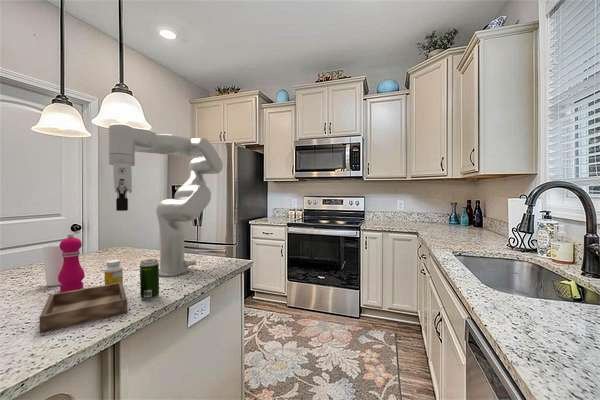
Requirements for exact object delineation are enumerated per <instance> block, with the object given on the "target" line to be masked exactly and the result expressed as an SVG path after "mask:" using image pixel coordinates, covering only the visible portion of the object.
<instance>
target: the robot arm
mask: <svg viewBox="0 0 600 400" xmlns="http://www.w3.org/2000/svg"><path fill="white" fill-rule="evenodd" d="M137 152H138V153H145V154H146V153H148V154H157V155H158V154H159V155H170V156H177V157H178V156H179V157H187V158H192V159H191V160H190V162H189V165H188V167H189V168H188V169H189V170H188V171H189V178H188V179H187V180H186V181H185V182H184V183H182V185H181V186H180V187H179V188H178V189H177V190H176V192H175V194H174V198H167V199H166V198H165V199H163V200H161V201H160V202H159V203H158V204H157V206H156V217H157V221H158V226H159V227H158V229H159V277H174V276H180V275H183V274H186V273H187V272H188V271H189V267H190V266H197V261H196V260H188V261H187V260H186V259H185V228H184V226H183V223H190V222H193V221H195V220H196V219H198V217H199V216H200V215H201V214H202V212H203V211H204V210H205V209H206V207H208V205H209V204H210V202H211V200H212V199H211V198H212V191H211V189H210V188H209V187H208V186H207V183H206V180H205V177H204V175H214V174H215V175H216V174H219V173H221V172H222V171H223V168H224V164H223V160H222V158H221V157H220V155H219V154H218V152H217V150H216V149H215V147H214V145H213V144H212V143H211V142H210V141H209V140H208V139H207V138H205V137H194V138H193V137H191V138H190V137H184V136H179V135H175V134H170V133H169V134H168V133H164V134H163V133H160V134H157V133H156V132H155V131H153V130H152V129H148V128H141V127H134V126H132V125H129V124H126V123H118V122H117V123H111V124H110V125H109V126H108V165H111V166H113V167H112V176H113V177H112V178H113V189H114V192H115V193H116V199H115V200H116V201H115V202H116V203H115V206H116V209H115V210H116V211H119V212H123V211H124V212H125V211H128V210H129V198H128V192H129V194H131V193H132V192H133V171H132V170H133V169H132V167H135V166H136V164H135V163H136V161H135V159H136V153H137Z"/></svg>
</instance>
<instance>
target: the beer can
mask: <svg viewBox="0 0 600 400" xmlns="http://www.w3.org/2000/svg"><path fill="white" fill-rule="evenodd" d="M158 261H159V260H158V259H155V258H154V259H152V258H151V259H145V260H141V261H140V264H139V287H140V290H139V291H140V292H139V293H140V295H139V296H140V298H141V300H142V301H150V300H151V301H152V300H155V299H157V298H158V297H159V295H160V276H159V269H160V262H158Z"/></svg>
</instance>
